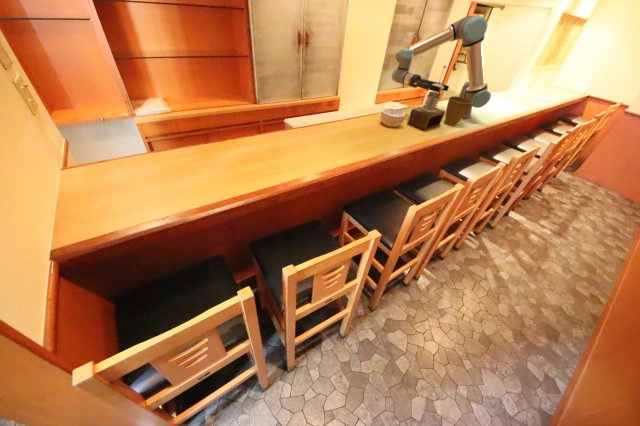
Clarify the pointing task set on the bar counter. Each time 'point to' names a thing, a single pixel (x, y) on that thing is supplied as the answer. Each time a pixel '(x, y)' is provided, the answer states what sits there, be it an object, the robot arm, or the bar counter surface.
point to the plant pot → (456, 109)
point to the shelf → (425, 118)
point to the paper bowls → (392, 117)
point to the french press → (432, 99)
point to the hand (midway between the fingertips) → (443, 89)
